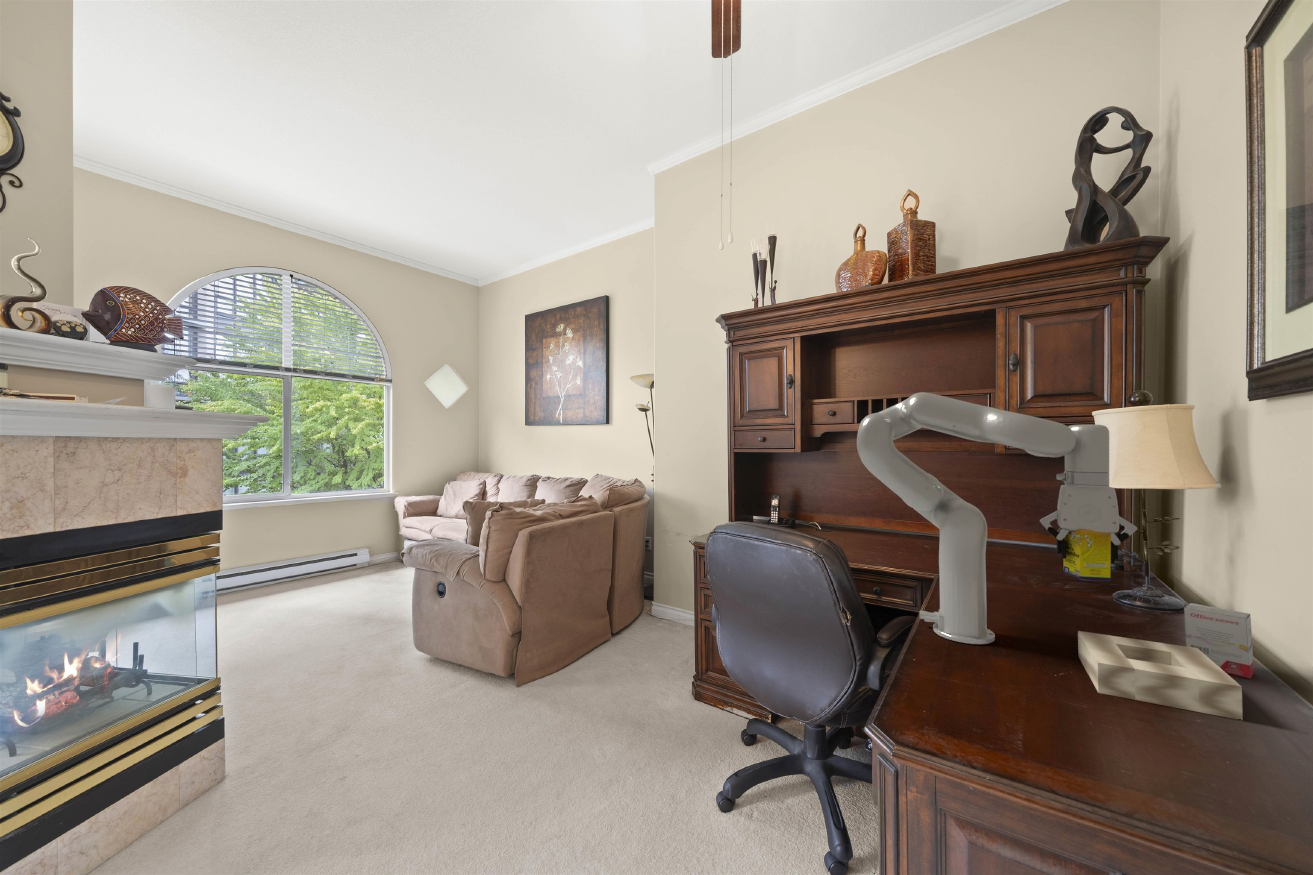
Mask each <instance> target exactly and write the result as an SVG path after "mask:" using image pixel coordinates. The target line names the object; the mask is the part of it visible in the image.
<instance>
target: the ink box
mask: <svg viewBox="0 0 1313 875" xmlns="http://www.w3.org/2000/svg"><path fill="white" fill-rule="evenodd" d="M1183 612H1184V613H1183V614H1184V616H1183V617H1184V630H1185V646H1186V647H1193V648H1198V649H1199V650H1200V651H1201V652H1202V653H1204V654H1205V655H1206V656H1207V657H1208V658H1209V659H1210V660H1212V661H1213V662H1214V663H1215V664H1216V665H1217V666H1219V667H1220V668H1221V669H1222V670H1223V671H1224V672H1225V673H1227V674H1228V675H1233V676H1237V677H1241V678H1245V679H1252V677H1253V675H1254V655H1253V654H1254V653H1253V651H1254V650H1253V634H1252V633H1253V630H1252V617H1251V613H1248V612H1243V611H1242V612H1241V611H1235V610H1231V609H1225V608H1220V607H1216V606H1215V607H1214V606H1209V605H1203V604H1198V603H1194V602H1192V603H1189V604H1186V605H1185V607H1183Z"/></svg>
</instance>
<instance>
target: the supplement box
mask: <svg viewBox="0 0 1313 875" xmlns="http://www.w3.org/2000/svg"><path fill="white" fill-rule="evenodd" d="M1064 538H1065V541H1066V558H1063V574H1065V575H1068V576H1071V577H1074V578H1076V579H1078V580H1081V581H1093V582H1095V581H1096V582H1097V581H1099V582H1111V565H1112V563H1111V534H1105V533H1098V532H1095V531H1093V530H1081V529H1078V530H1076V531H1069V532H1068V533H1067V535H1066V536H1065V537H1064Z"/></svg>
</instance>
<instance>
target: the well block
mask: <svg viewBox="0 0 1313 875" xmlns="http://www.w3.org/2000/svg"><path fill="white" fill-rule="evenodd" d="M1077 641H1078V643H1077V644H1078V645H1077V647H1078V648H1077V649H1078V651H1077V652H1078V659H1079V661H1080V662H1081V664H1082V666H1083V667H1084V669H1085V671H1086V673H1087V675H1088V676H1089V678H1090V680H1091V682H1092V683H1093V685H1094V688H1095V689H1096V691H1097V693H1098V694H1102V695H1109V696H1112V697H1113V696H1114V697H1119V698H1123V699H1130V700H1133V701H1134V700H1135V701H1140V702H1143V703H1145V702H1146V703H1149V704H1156V705H1161V706H1167V707H1170V708H1175V709H1176V708H1177V709H1181V710H1187V711H1193V712H1197V713H1201V714H1208V715H1213V716H1218V717H1224V718H1228V719H1233V720H1238V719H1241V720H1240V721H1243V688H1242V686H1241V684H1239V682H1238V681H1236V680H1235V679H1234V678H1232V676H1230V674H1228V673H1225V672H1224V671H1223V670H1222V669H1221V668H1220V667H1219V666H1217V665H1216V664H1215V663H1214V662H1213V661H1212V660H1210V659H1209V658H1208V657H1207V656H1206V655H1205V654H1204V653H1202V652H1201V651H1200V650H1199V649H1198V648H1193V647H1186V645H1179V644H1172V643H1171V644H1170V643H1164V642H1156V641H1152V640H1143V639H1137V638H1129V637H1122V636H1116V635H1110V634H1104V633H1103V634H1102V633H1096V632H1090V631H1089V632H1088V631H1080V630H1078V631H1077Z"/></svg>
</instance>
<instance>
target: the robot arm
mask: <svg viewBox="0 0 1313 875" xmlns="http://www.w3.org/2000/svg"><path fill="white" fill-rule="evenodd" d="M858 426H859V427H858V430H857V435H856V449H857V454H858V456H859V458H860V460H861V462H862V464H863V465H864V467H865V468H866V469H867V470H868V471H869V472H870V474H871V475H873V476H874V477H875V478H877V480H879V481H880V482H881V483H882V484H884V486H886V487H887V488H889V489H890V490H891V491H892V492H893V493H894V494H896V495H897V496H898V497H899V498H901V500H902V501H903V502H904V503H905V504H906V505H907V506H908V507H910V508H913V510H914V511H915V512H916V513H918V514H920V515H921V516H922V517H923V518H925V519H926V520H928V521H929V522H930V523H931V524H932V525H933V526H935V527H936V528H938V530H939V546H938V547H939V549H938V567H939V568H938V573H939V608H938V611H933V612H930V611H925V610H919V619H921V620H924V622H929V623H933V625H932V630H933V632H934V633H935V634H937V635H938V636H940V637H941V638H944V639H947V640H950V641H954V642H958V643H963V644H969V645H987V644H991V643H993V642H995V640H996V635H995V633H994V632H993V631H992V630H991V629H988V628H987V626H988V625H987V620H988V617H987V610H988V609H987V570H986V565H987V563H986V551H987V539H988V523H987V520H986V517H985V516H984V514H983V512H982V511H981V510H980V508H978V507H976V506H975V505H974V504H972V503H970V502H967V501H966V500H964V499H963V498H961V497H960V496H959V495H958V494H956V493H955V492H953V491H952V490H951V489H949V488H948V487H947V486H945V485H944V484H943V483H941V481H939V479H938V478H936V477H935V476H934V475H932V474H931V473H928V472H926V470H924V469H922V468H921V467H919V466H918V465H917V464H915V463H914V462H913V461H911V460H910V459H909V458H908V457H907V456H906V455H904V454H903V453H902V452H901V451H899V449H897V447H896V446H895V443H894V441H895V440H897V439H900V438H902V437H904V436H907V435H909V434H911V433H913V432H915V431H917V430H919V429H922V428H924V429H928V430H931V431H936V432H938V433H939V432H940V433H943V434H947V435H950V436H954V437H959V438H961V439H965V440H968V441H975V442H980V443H981V442H982V443H989V444H990V443H993V444H996V445H997V444H998V445H1003V446H1007V447H1013V448H1017V449H1020V450H1024V451H1025V452H1026V453H1028V454H1029V455H1033V456H1035V457H1043V458H1048V457H1049V458H1060V457H1064V471H1063V472H1062V473H1056V476H1055V477H1056V480H1057V481H1058V480H1059V481H1062V482H1063V483H1064V484H1062V485H1060V489H1059V493H1058V498H1057V506H1056V508H1057V509H1056V510H1055V511H1054V512H1051V513H1050V514H1048V515H1046V516H1044V517H1042V518H1041V519H1039V522H1040V524H1041V525H1042V526H1043V527H1044V528H1045V529H1046V531H1047V532H1049V533H1050V534H1051V535H1052V536H1053V537H1054V538H1055V539H1056V553H1057V554H1059V557H1060V558H1061V559H1064V558H1066V541H1065V538H1064V537H1065V536H1066V535H1067V533H1068V532H1069V531H1076V530H1078V529H1081V530H1093V531H1095V532H1098V533H1105V534H1111V564H1115V562H1116V560H1119V546H1120V545H1121V544H1122V543H1123V542H1124V541H1126V540H1128V539H1129V538H1130V536H1132V535H1133V534H1134V533H1135V532H1136V531H1138V527H1137V526H1136V525H1134V524H1133V523H1131V522H1130V521H1128V520H1127V519H1125V518H1123V517H1121V516H1120V514H1119V505H1118V498H1117V493H1116V490H1115V487H1112V486H1111V487H1110V430H1109V428H1108V427H1107V426H1106V425H1103V424H1072V425H1068V426H1067V425H1065V424H1064V423H1062V422H1058V421H1053V420H1049V419H1045V418H1041V417H1037V416H1032V415H1028V414H1025V413H1024V414H1023V413H1020V412H1019V413H1018V412H1014V411H1009V410H1003V409H1000V408H999V409H998V408H996V407H991V406H985V405H981V404H977V403H972V402H969V401H964V400H960V399H957V398H956V399H955V398H952V397H948V396H943V395H939V394H935V393H932V392H931V393H930V392H924V391H921V392H916V393H913V394H912V395H910V396H909V397H908V398H906V399H904V400H903V401H901V402H898V403H896V404H894V405H891V406H889V407H887V408H886V409H882V410H881V411H878V412H875V413H870V414H868V415H866V416H865V417H864V418H863V419H862V420H861V421H860V422H859V425H858ZM1055 520H1056V524H1057V525H1058V526H1059V528H1058V530H1056V529H1055V528H1054V527H1053V526H1052V525H1051V522H1053V521H1055ZM1120 525H1121V526H1124V530H1122V531H1121V532H1119V530H1120ZM1118 532H1119V533H1118ZM1116 533H1118V534H1116Z"/></svg>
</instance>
